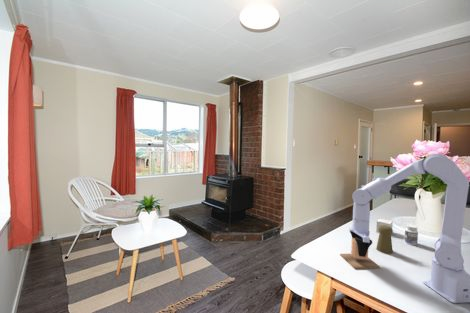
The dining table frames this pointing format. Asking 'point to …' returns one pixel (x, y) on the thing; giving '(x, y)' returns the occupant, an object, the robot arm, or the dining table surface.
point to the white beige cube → (383, 223)
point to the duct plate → (359, 262)
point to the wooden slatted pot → (356, 250)
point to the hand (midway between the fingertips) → (359, 252)
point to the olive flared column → (385, 239)
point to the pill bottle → (411, 234)
